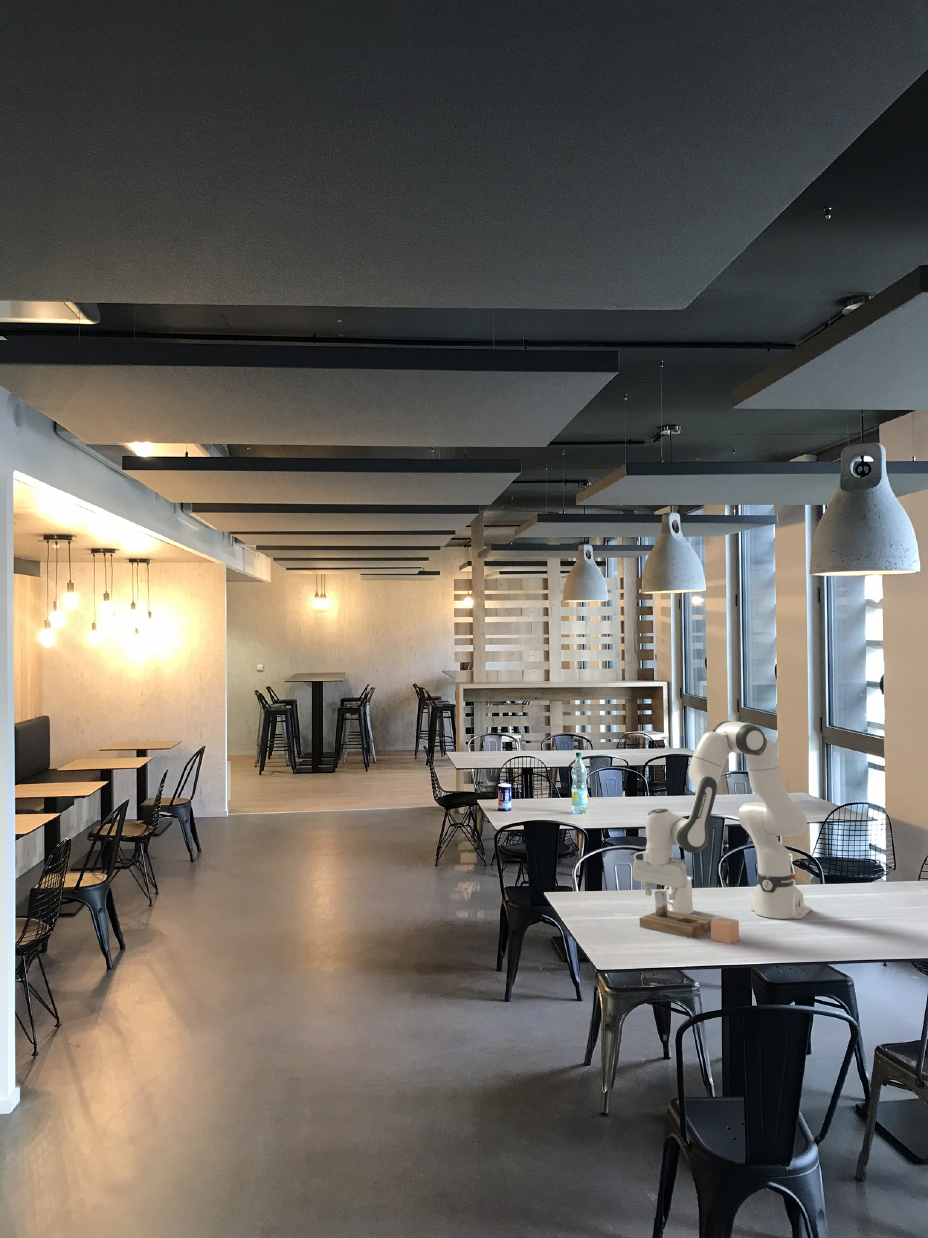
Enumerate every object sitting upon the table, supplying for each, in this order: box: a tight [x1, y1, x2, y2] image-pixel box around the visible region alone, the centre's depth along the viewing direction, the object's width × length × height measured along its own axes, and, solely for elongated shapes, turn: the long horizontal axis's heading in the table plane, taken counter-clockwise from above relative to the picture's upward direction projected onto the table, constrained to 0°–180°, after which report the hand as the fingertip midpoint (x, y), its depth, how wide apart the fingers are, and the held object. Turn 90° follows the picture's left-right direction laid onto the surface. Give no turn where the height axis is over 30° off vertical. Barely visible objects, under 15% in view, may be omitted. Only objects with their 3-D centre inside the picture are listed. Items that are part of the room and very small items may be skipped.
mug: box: [663, 875, 694, 915], centre depth 311 cm, size 12×8×12 cm
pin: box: [654, 889, 668, 917], centre depth 295 cm, size 4×4×8 cm
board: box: [639, 909, 715, 938], centre depth 290 cm, size 15×20×3 cm
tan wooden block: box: [710, 916, 740, 945], centre depth 275 cm, size 6×6×6 cm
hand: (660, 897), depth 295 cm, fingers open, 8 cm apart
